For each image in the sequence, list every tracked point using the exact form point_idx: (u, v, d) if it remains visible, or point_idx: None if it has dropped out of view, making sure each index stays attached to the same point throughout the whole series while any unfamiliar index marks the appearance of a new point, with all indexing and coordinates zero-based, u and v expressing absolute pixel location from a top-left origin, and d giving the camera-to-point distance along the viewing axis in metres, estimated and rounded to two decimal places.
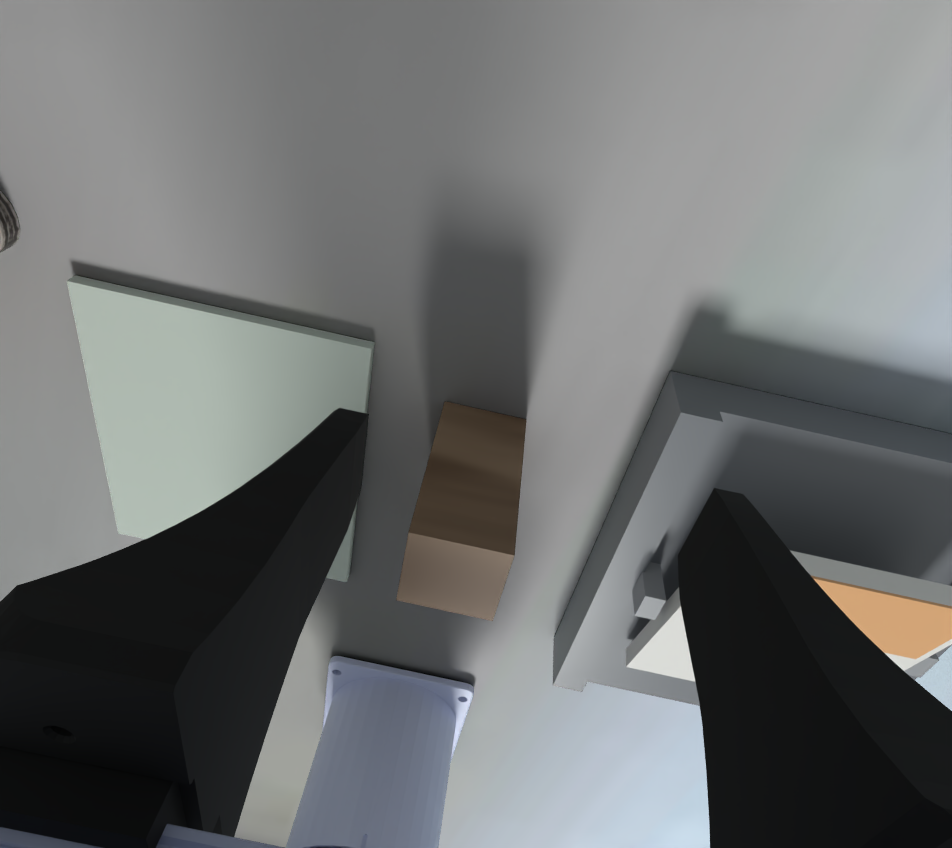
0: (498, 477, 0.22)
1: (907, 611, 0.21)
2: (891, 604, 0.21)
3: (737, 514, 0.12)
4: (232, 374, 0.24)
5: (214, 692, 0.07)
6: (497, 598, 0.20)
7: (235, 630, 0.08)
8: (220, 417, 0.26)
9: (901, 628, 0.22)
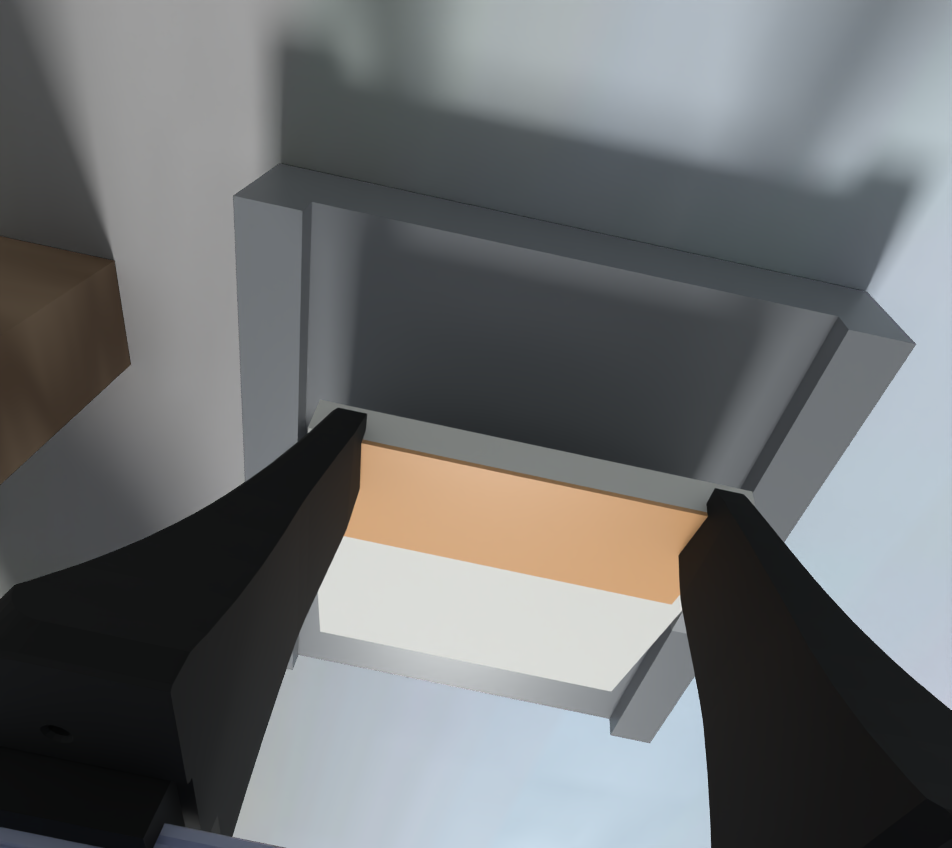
0: None
1: (616, 518, 0.13)
2: (587, 506, 0.13)
3: (738, 514, 0.12)
4: None
5: (212, 692, 0.07)
6: None
7: (233, 630, 0.08)
8: None
9: (624, 550, 0.14)
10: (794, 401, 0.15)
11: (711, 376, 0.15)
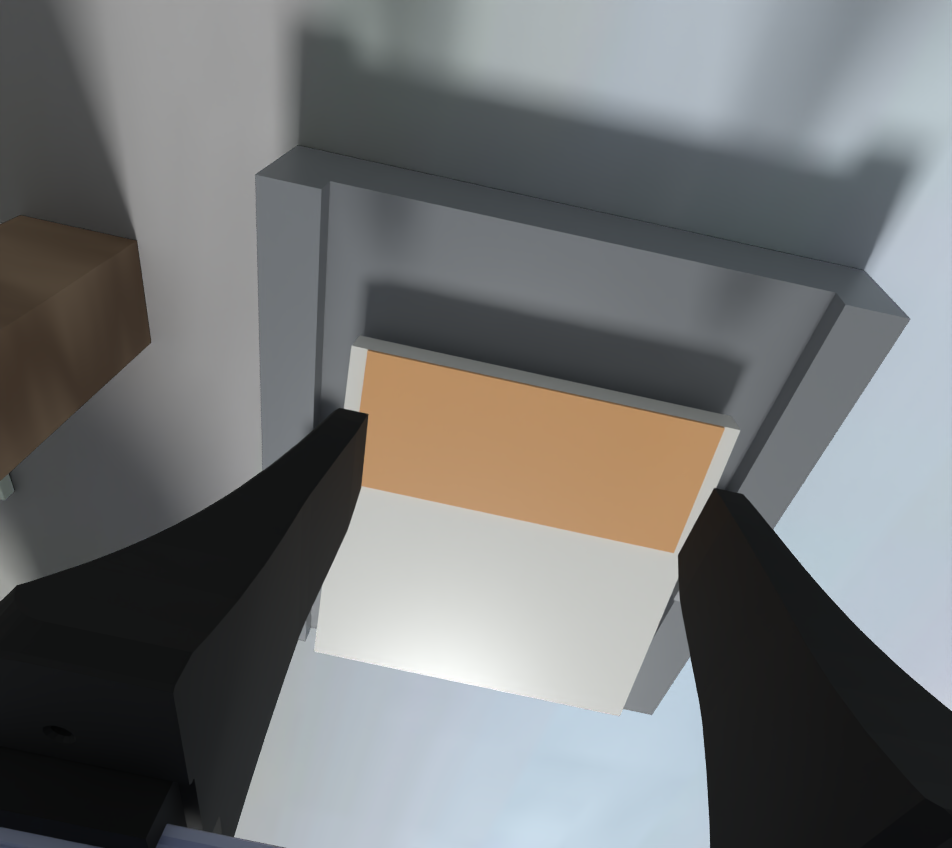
0: (12, 291, 0.14)
1: (619, 433, 0.15)
2: (593, 419, 0.15)
3: (737, 514, 0.12)
4: None
5: (214, 692, 0.07)
6: None
7: (235, 630, 0.08)
8: None
9: (627, 478, 0.16)
10: (793, 375, 0.15)
11: (712, 351, 0.15)
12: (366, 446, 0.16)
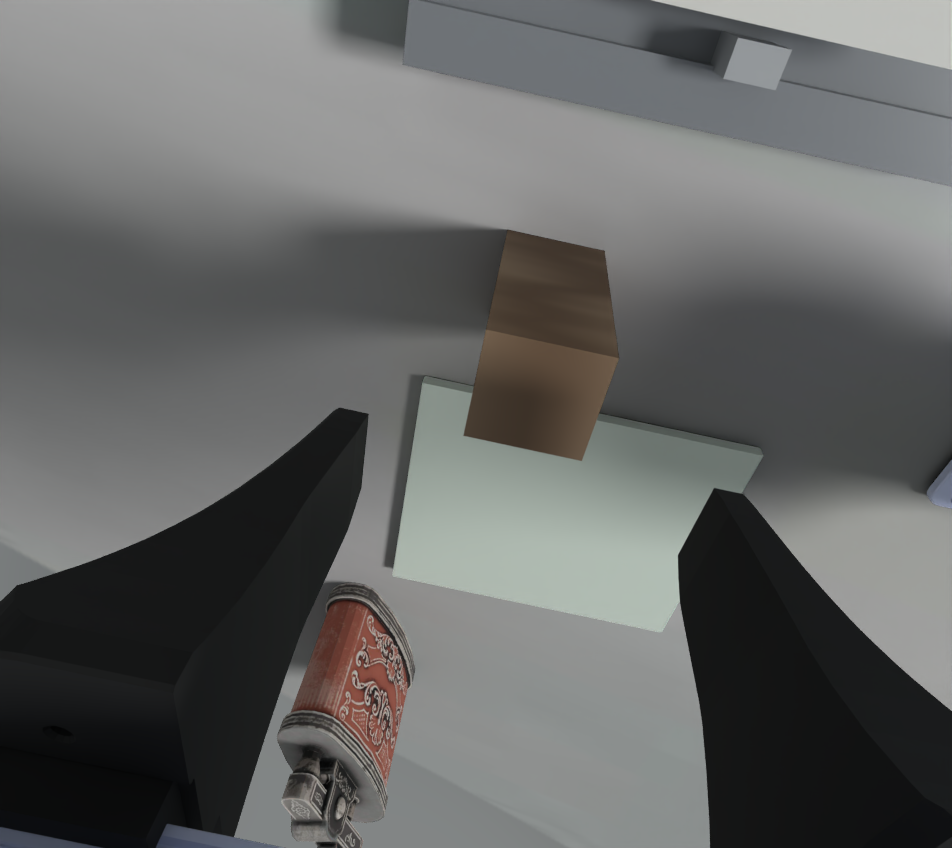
0: None
1: None
2: None
3: (737, 514, 0.12)
4: (463, 496, 0.27)
5: (214, 692, 0.07)
6: (570, 350, 0.15)
7: (235, 630, 0.08)
8: (512, 517, 0.27)
9: None
10: None
11: None
12: None
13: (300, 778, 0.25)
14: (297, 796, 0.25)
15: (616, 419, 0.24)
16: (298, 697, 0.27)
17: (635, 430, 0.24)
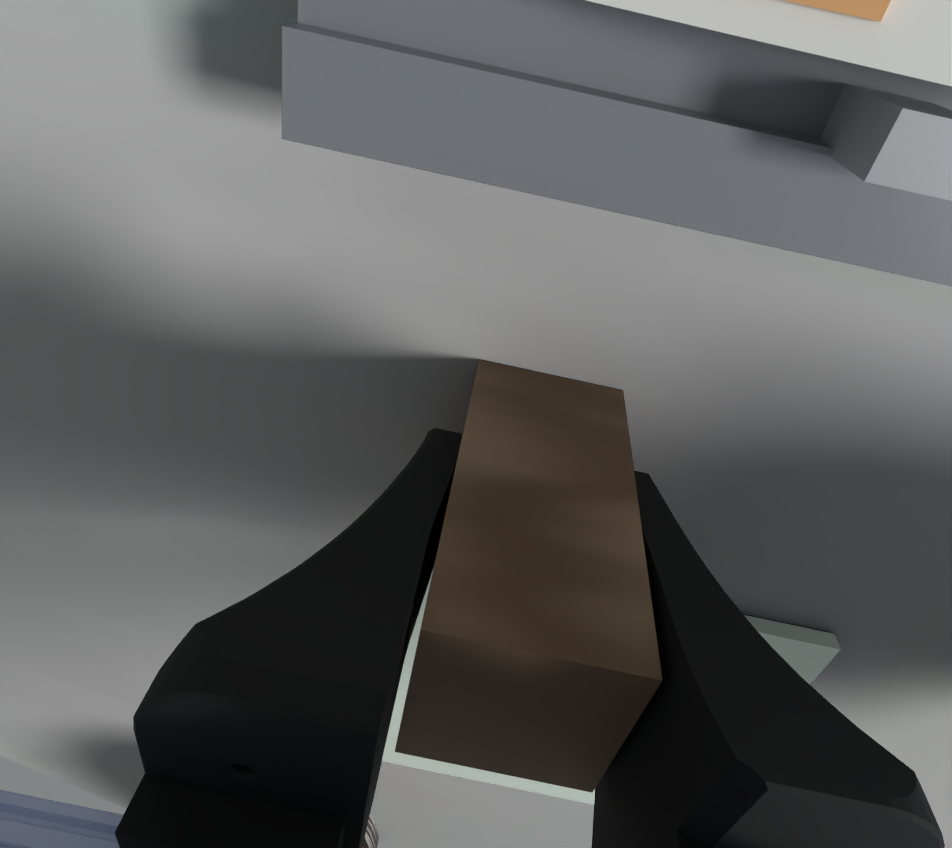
0: None
1: None
2: None
3: None
4: None
5: (383, 727, 0.07)
6: (574, 665, 0.08)
7: (397, 664, 0.08)
8: None
9: None
10: None
11: None
12: None
13: None
14: None
15: None
16: None
17: None
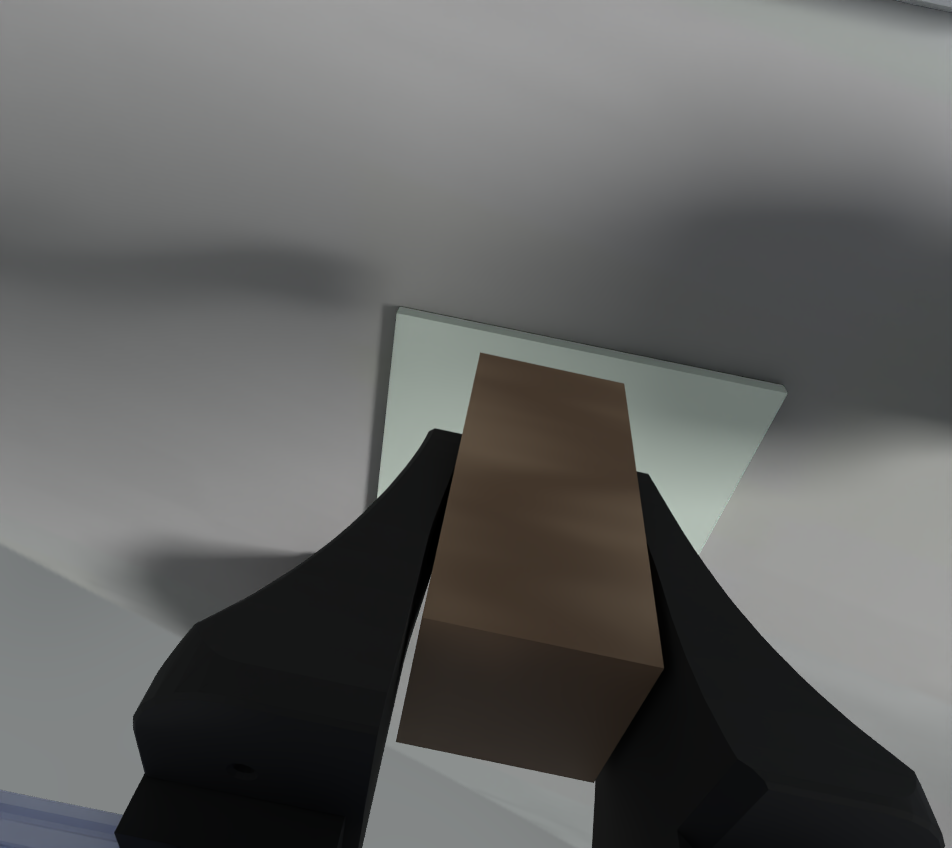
0: None
1: None
2: None
3: None
4: None
5: (382, 727, 0.07)
6: (576, 653, 0.08)
7: (397, 664, 0.08)
8: None
9: None
10: None
11: None
12: None
13: None
14: None
15: (618, 353, 0.21)
16: None
17: (640, 365, 0.21)
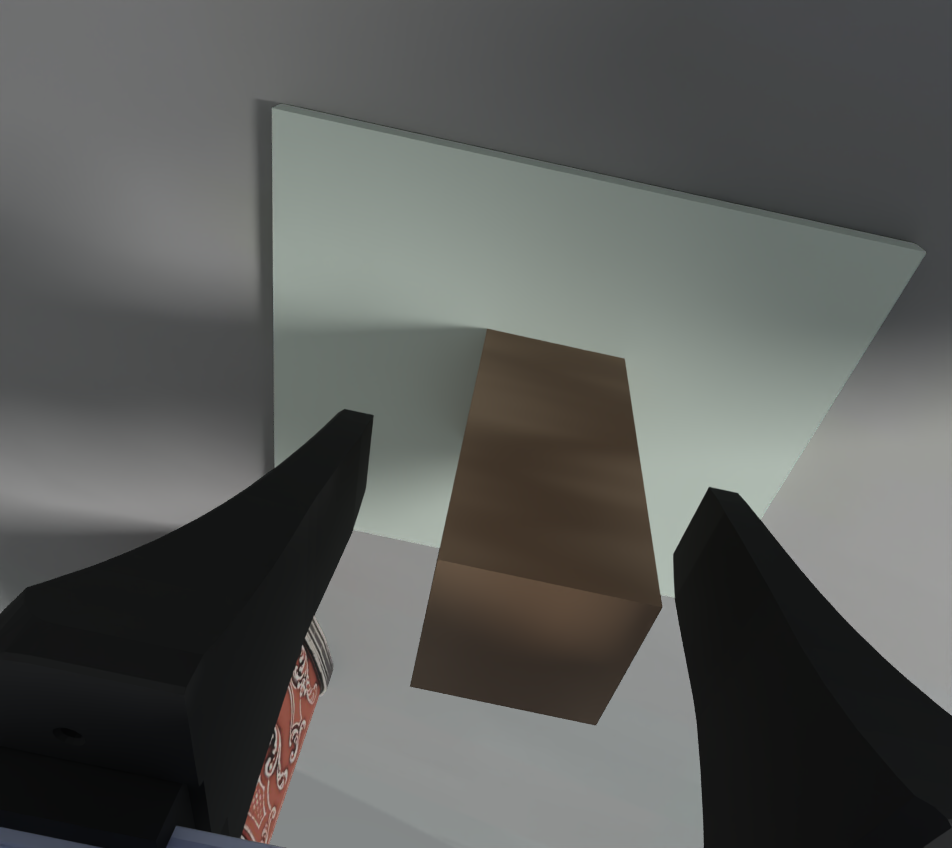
0: None
1: None
2: None
3: (731, 513, 0.12)
4: (373, 361, 0.15)
5: (223, 694, 0.07)
6: (581, 593, 0.09)
7: (243, 632, 0.08)
8: (459, 399, 0.16)
9: None
10: None
11: None
12: None
13: None
14: None
15: (645, 185, 0.13)
16: None
17: (681, 204, 0.13)
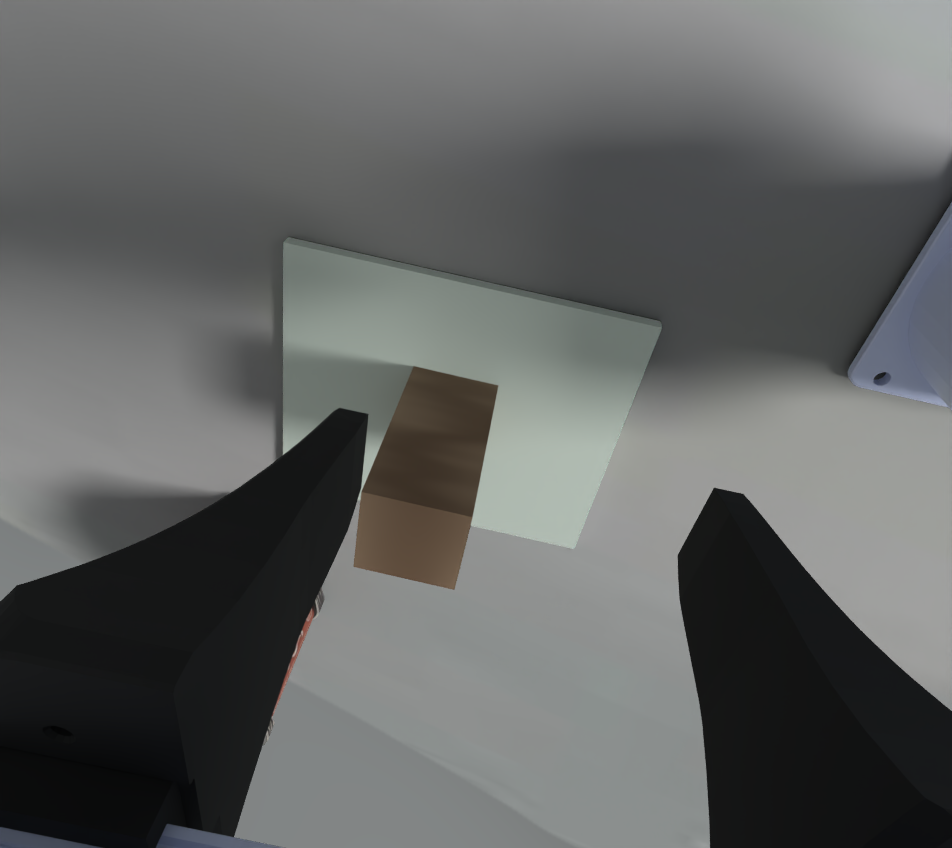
0: None
1: None
2: None
3: (737, 514, 0.12)
4: (345, 384, 0.25)
5: (214, 692, 0.07)
6: (432, 510, 0.18)
7: (235, 630, 0.08)
8: None
9: None
10: None
11: None
12: None
13: None
14: None
15: (499, 287, 0.22)
16: None
17: (519, 298, 0.22)
